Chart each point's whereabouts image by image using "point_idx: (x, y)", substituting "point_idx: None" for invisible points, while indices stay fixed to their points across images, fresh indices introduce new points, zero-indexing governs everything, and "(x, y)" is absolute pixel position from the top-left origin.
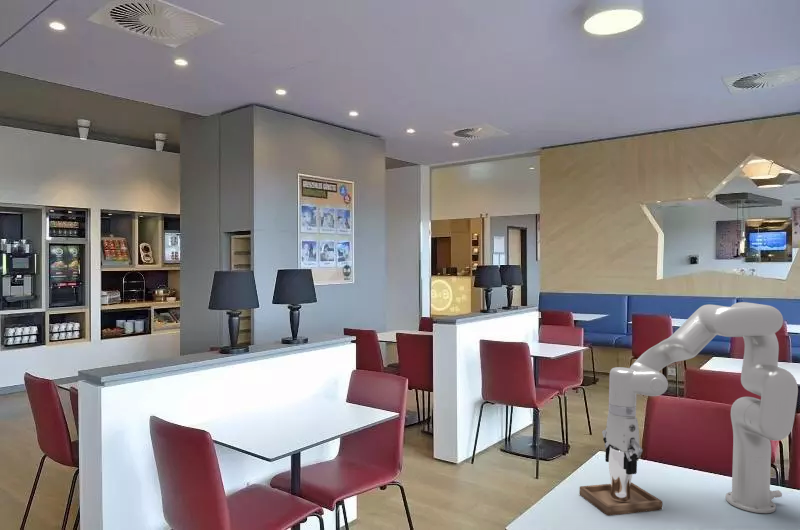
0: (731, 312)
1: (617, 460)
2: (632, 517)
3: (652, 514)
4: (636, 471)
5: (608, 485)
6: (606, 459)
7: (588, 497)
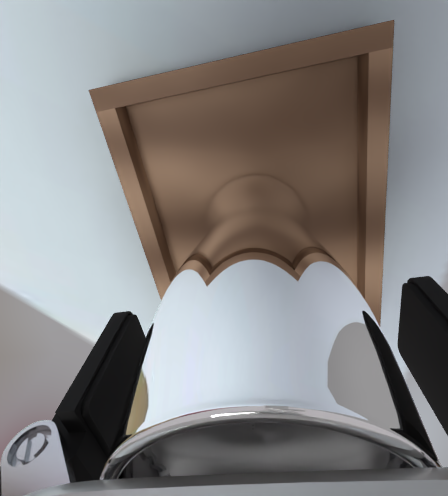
0: None
1: (342, 450)
2: (405, 233)
3: (405, 123)
4: (438, 286)
5: (158, 244)
6: None
7: None
